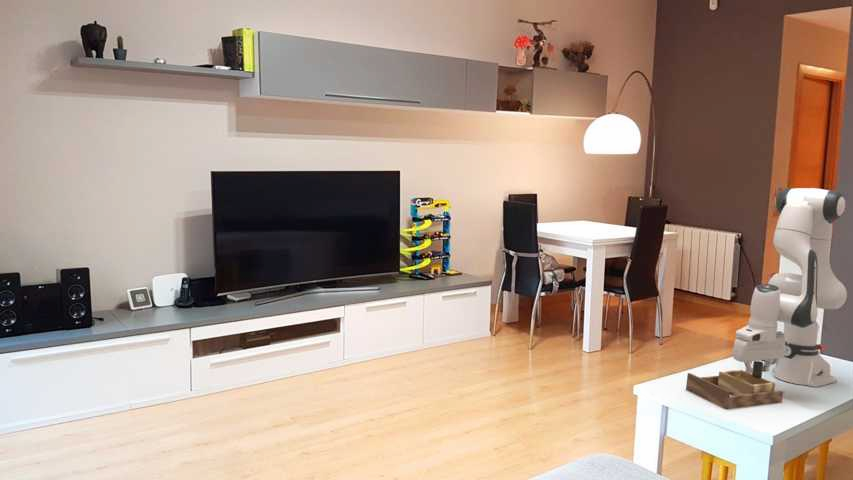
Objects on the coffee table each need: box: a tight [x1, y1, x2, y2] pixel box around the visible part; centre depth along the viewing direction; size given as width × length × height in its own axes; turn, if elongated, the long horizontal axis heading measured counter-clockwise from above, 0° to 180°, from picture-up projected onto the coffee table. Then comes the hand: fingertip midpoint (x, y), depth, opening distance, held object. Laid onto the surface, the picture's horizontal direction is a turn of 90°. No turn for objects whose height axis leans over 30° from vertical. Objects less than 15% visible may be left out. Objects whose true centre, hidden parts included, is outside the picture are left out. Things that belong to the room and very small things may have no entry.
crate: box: [718, 360, 776, 396], centre depth 238 cm, size 11×14×11 cm
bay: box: [685, 372, 784, 410], centre depth 236 cm, size 24×18×7 cm
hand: (757, 372), depth 239 cm, fingers open, 6 cm apart
